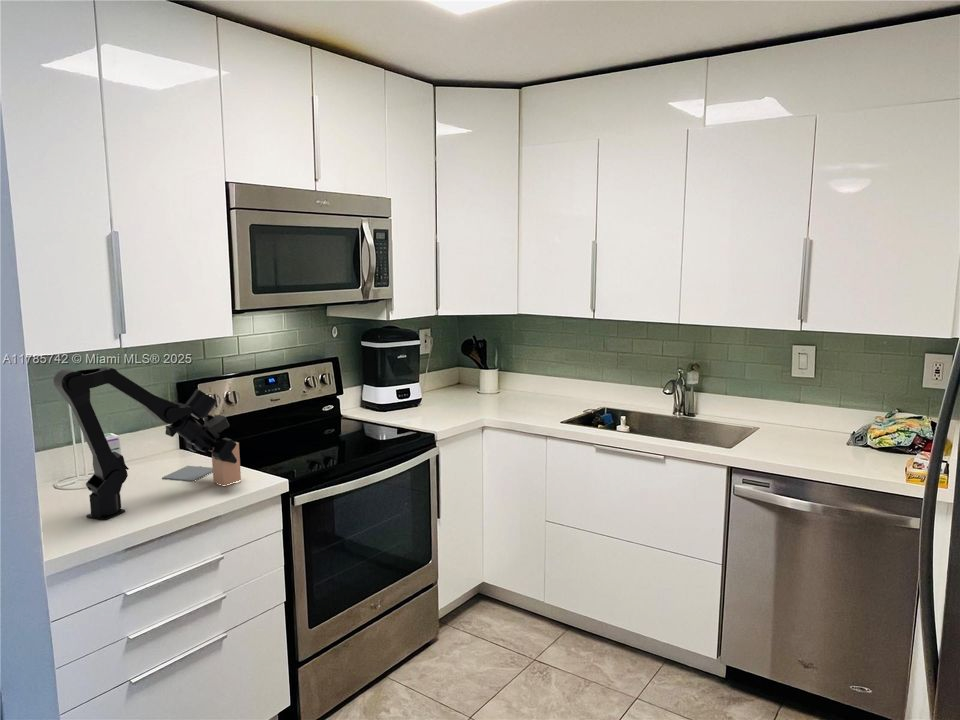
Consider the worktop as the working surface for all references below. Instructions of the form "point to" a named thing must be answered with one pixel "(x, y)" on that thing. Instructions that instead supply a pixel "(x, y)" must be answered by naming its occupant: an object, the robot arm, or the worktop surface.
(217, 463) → the salmon pink pillar
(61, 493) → the worktop surface
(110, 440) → the syrup box
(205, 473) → the rubber mat
